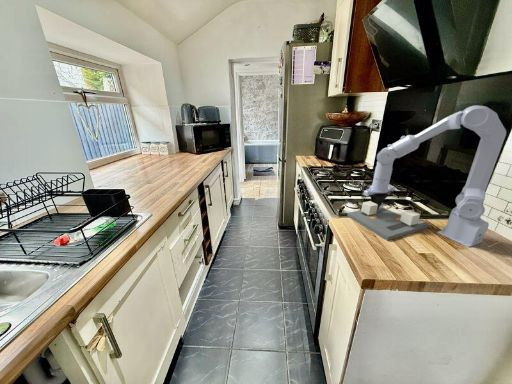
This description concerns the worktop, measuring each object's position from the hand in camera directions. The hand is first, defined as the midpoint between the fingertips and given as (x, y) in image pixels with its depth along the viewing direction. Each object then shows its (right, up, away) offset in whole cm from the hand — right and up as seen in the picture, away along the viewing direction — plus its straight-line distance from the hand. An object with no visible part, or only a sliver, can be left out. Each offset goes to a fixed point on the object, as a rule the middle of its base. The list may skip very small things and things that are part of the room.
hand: (375, 208), depth 90 cm
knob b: (-3, -1, -1) cm, 4 cm away
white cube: (+8, -4, -9) cm, 13 cm away
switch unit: (+2, -5, -4) cm, 7 cm away
